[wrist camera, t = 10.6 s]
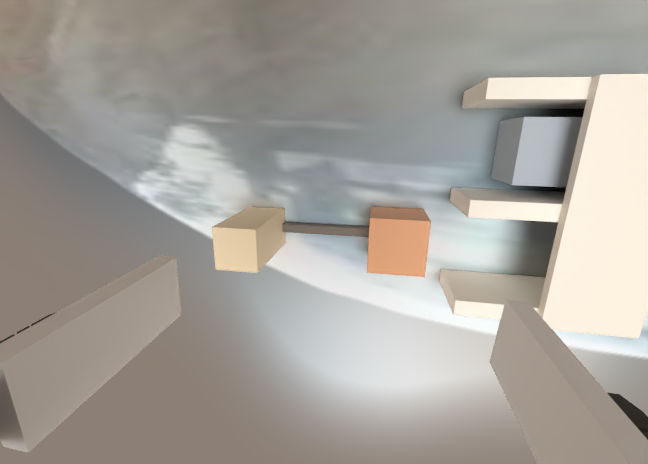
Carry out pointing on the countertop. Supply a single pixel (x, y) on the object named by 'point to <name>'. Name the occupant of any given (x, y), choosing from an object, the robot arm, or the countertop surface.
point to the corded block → (384, 234)
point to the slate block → (535, 150)
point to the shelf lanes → (573, 210)
